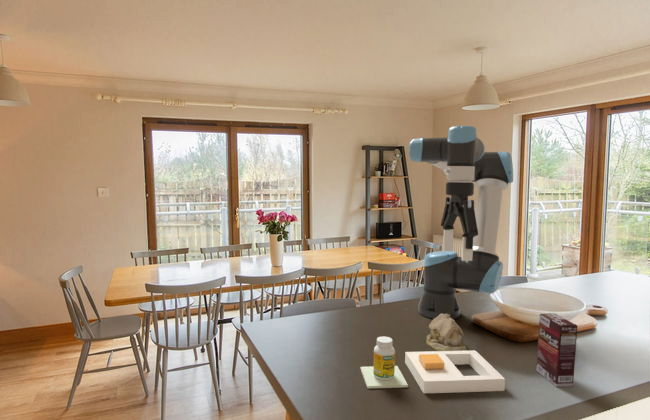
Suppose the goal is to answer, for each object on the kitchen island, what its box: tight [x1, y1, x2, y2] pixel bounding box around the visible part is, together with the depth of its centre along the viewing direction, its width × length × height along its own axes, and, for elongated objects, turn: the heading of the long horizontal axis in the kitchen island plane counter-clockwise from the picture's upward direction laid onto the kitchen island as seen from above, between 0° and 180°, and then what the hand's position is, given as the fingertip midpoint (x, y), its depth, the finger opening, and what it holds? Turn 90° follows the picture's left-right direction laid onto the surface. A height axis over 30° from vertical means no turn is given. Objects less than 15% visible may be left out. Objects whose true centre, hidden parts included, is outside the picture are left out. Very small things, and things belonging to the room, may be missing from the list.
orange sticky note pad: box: [419, 354, 445, 369], centre depth 105 cm, size 5×5×4 cm
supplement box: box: [535, 312, 578, 388], centre depth 104 cm, size 9×5×16 cm, turn 5°
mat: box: [359, 365, 409, 389], centre depth 104 cm, size 10×10×1 cm
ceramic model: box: [425, 313, 467, 351], centre depth 124 cm, size 14×11×10 cm
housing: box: [404, 349, 506, 394], centre depth 106 cm, size 16×20×3 cm
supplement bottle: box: [373, 335, 396, 380], centre depth 104 cm, size 5×5×10 cm
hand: (456, 255), depth 118 cm, fingers open, 13 cm apart
